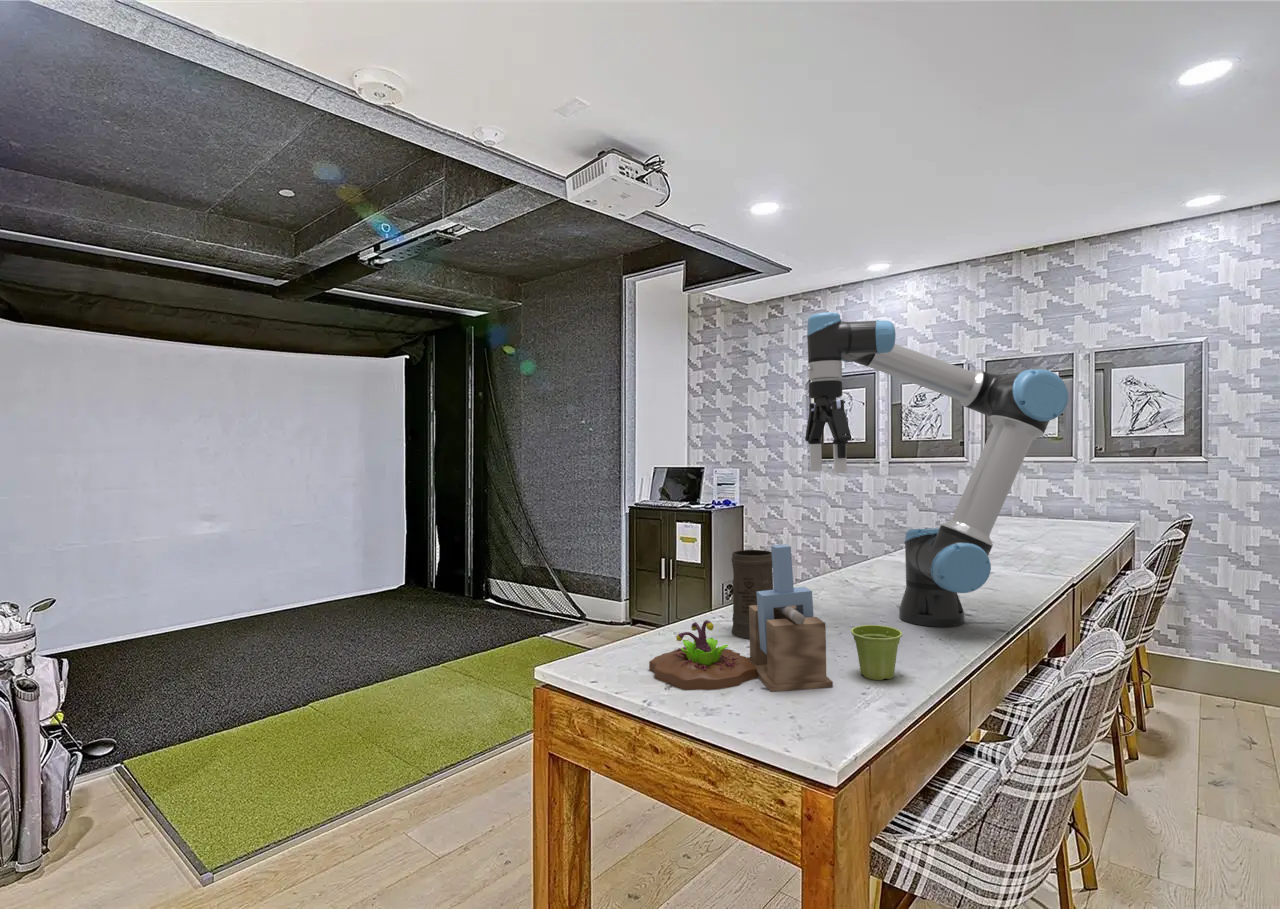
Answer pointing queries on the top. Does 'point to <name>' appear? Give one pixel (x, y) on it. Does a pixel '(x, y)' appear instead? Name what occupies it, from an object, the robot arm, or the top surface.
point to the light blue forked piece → (781, 592)
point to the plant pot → (877, 650)
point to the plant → (702, 664)
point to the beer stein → (749, 585)
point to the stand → (789, 650)
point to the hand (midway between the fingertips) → (827, 472)
